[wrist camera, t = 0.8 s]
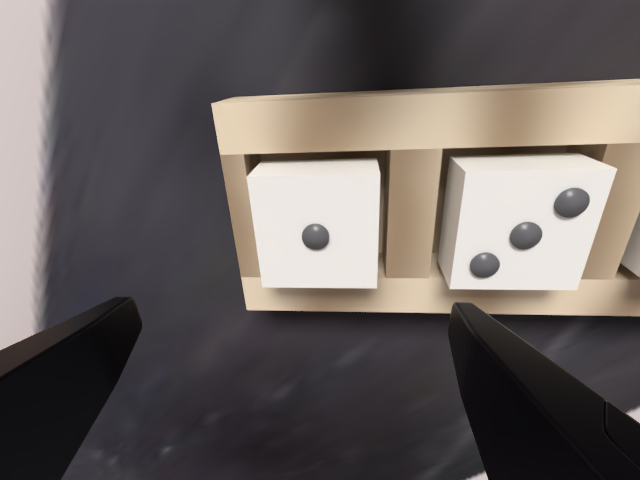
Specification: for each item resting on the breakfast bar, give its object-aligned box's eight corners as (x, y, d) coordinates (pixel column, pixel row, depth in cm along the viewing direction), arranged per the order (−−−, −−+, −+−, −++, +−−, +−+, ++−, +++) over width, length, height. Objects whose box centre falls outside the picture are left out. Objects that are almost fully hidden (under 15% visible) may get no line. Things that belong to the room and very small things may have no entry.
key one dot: (376, 158, 15) (380, 174, 13) (374, 260, 17) (377, 290, 15) (261, 161, 15) (245, 178, 13) (273, 260, 18) (261, 289, 15)
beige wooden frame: (817, 70, 14) (925, 72, 11) (707, 281, 19) (767, 318, 16) (234, 97, 16) (211, 103, 14) (260, 278, 21) (246, 310, 18)
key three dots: (577, 152, 14) (620, 169, 12) (547, 260, 16) (579, 292, 14) (449, 156, 15) (466, 172, 12) (437, 260, 17) (450, 291, 15)
